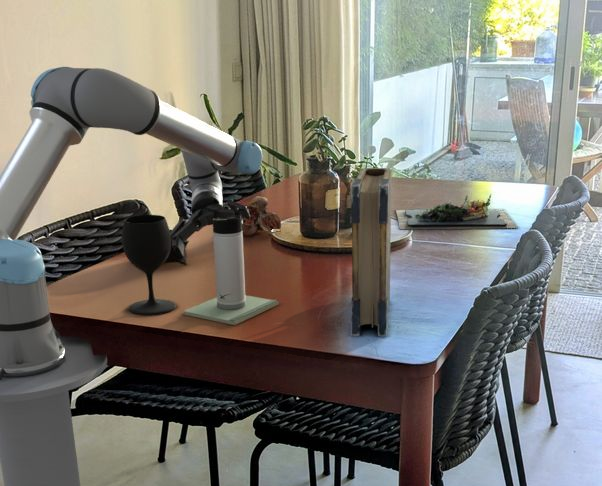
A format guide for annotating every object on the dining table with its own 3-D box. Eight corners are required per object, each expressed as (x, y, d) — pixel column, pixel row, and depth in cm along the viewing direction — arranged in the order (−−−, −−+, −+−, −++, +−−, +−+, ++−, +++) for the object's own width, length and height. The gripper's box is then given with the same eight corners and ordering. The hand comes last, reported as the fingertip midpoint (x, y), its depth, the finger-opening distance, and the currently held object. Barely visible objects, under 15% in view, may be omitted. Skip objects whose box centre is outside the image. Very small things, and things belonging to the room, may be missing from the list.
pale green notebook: (234, 325, 179) (234, 320, 179) (183, 314, 187) (183, 310, 186) (278, 304, 192) (278, 300, 191) (228, 295, 199) (228, 291, 199)
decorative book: (386, 336, 171) (388, 185, 160) (350, 335, 172) (350, 185, 161) (391, 300, 193) (393, 164, 182) (359, 299, 194) (359, 164, 183)
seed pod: (214, 217, 247) (260, 203, 241) (230, 194, 260) (274, 180, 254) (233, 256, 253) (278, 243, 247) (247, 232, 266) (291, 219, 260)
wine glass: (119, 312, 189) (110, 222, 182) (146, 298, 198) (138, 212, 191) (158, 317, 185) (151, 225, 178) (185, 303, 194) (178, 215, 187)
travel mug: (223, 312, 185) (218, 220, 178) (213, 303, 191) (208, 214, 184) (250, 307, 187) (246, 216, 180) (239, 299, 193) (235, 211, 186)
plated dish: (502, 208, 281) (503, 186, 278) (519, 229, 255) (520, 205, 252) (394, 211, 283) (394, 189, 280) (400, 232, 257) (400, 208, 254)
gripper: (260, 199, 209) (266, 235, 191) (166, 237, 212) (163, 275, 194) (248, 172, 206) (253, 205, 188) (153, 211, 208) (148, 247, 190)
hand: (207, 241), depth 191 cm, fingers open, 13 cm apart
